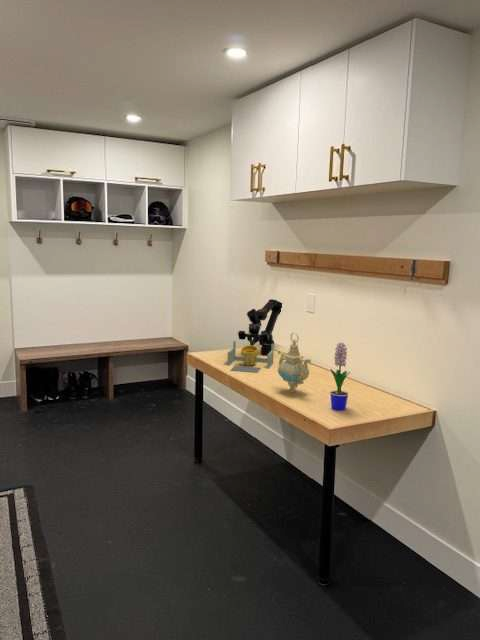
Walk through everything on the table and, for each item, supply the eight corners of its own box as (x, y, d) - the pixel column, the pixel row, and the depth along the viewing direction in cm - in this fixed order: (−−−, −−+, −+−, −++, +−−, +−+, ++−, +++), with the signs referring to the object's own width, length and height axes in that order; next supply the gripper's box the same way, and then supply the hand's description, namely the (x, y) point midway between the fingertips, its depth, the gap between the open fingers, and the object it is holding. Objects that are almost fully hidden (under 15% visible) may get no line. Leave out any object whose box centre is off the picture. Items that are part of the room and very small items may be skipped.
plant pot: (238, 361, 303) (238, 347, 300) (253, 357, 307) (253, 343, 303) (246, 368, 295) (245, 354, 291) (261, 364, 299) (261, 350, 295)
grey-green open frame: (233, 359, 313) (233, 341, 311) (273, 362, 307) (273, 343, 305) (227, 365, 298) (227, 345, 296) (269, 368, 293) (269, 348, 291)
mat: (234, 366, 297) (234, 365, 297) (261, 368, 293) (261, 367, 293) (230, 370, 285) (230, 370, 285) (257, 373, 282) (257, 372, 282)
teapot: (317, 396, 239) (320, 335, 235) (298, 400, 233) (300, 337, 229) (287, 384, 259) (289, 328, 255) (269, 387, 253) (270, 329, 249)
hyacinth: (328, 411, 218) (331, 344, 214) (328, 404, 228) (331, 340, 224) (348, 413, 216) (352, 345, 212) (347, 405, 226) (351, 341, 222)
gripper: (239, 317, 308) (234, 337, 298) (269, 319, 304) (265, 339, 294) (241, 329, 316) (236, 348, 307) (270, 331, 312) (266, 351, 303)
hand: (251, 346), depth 302 cm, fingers closed, pressing on plant pot
